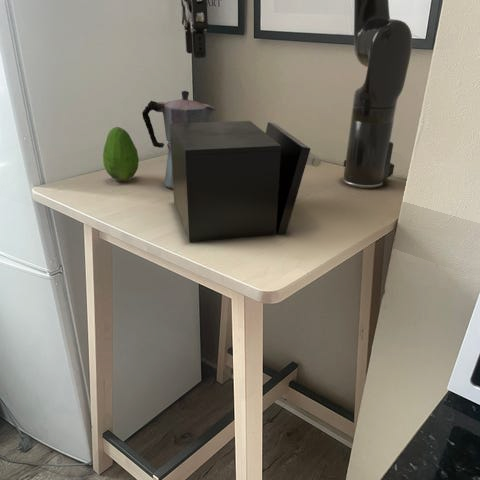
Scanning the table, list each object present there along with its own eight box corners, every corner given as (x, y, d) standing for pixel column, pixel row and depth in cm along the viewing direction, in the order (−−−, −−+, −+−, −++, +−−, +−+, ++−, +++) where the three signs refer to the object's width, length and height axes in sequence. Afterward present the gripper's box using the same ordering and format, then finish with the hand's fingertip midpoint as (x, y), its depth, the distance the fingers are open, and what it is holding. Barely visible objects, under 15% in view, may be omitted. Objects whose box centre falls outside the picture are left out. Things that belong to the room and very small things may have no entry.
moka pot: (220, 189, 112) (219, 93, 101) (152, 195, 108) (143, 95, 97) (210, 177, 119) (209, 86, 108) (146, 182, 116) (137, 88, 105)
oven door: (272, 201, 109) (292, 127, 101) (304, 237, 92) (330, 152, 85) (249, 197, 107) (267, 121, 99) (277, 233, 91) (302, 146, 83)
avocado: (123, 187, 112) (117, 132, 105) (99, 181, 116) (91, 127, 109) (147, 179, 118) (143, 125, 111) (123, 173, 121) (117, 121, 115)
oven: (248, 199, 107) (250, 120, 98) (276, 235, 91) (281, 145, 82) (174, 204, 104) (169, 123, 95) (189, 243, 87) (185, 150, 79)
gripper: (220, -58, 78) (223, 58, 87) (205, -51, 89) (208, 51, 98) (173, -58, 76) (180, 60, 85) (163, -52, 88) (171, 52, 97)
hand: (195, 55), depth 92 cm, fingers open, 8 cm apart
